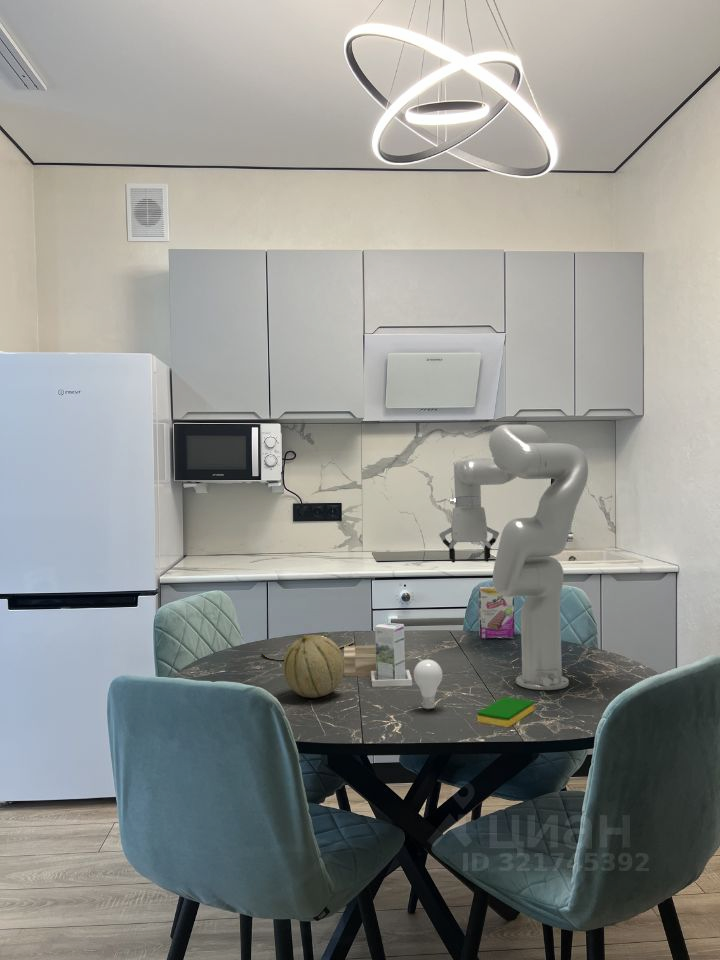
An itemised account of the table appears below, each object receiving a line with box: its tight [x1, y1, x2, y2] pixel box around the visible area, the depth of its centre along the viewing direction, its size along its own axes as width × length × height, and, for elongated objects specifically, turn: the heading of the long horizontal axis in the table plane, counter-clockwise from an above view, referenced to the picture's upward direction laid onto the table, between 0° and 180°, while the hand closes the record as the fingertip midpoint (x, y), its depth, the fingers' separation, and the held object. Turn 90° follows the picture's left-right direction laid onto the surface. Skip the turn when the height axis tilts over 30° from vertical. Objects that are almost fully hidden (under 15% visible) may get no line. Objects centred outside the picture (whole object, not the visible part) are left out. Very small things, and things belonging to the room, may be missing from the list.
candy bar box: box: [478, 586, 515, 639], centre depth 239 cm, size 11×5×16 cm, turn 84°
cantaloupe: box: [282, 634, 345, 699], centre depth 177 cm, size 15×15×15 cm
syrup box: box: [374, 622, 407, 680], centre depth 190 cm, size 6×6×14 cm
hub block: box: [343, 644, 376, 677], centre depth 203 cm, size 14×14×5 cm
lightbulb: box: [413, 659, 443, 711], centre depth 165 cm, size 6×6×11 cm
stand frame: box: [370, 669, 413, 688], centre depth 190 cm, size 10×10×2 cm
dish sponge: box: [476, 696, 535, 728], centre depth 159 cm, size 7×14×2 cm, turn 145°
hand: (469, 561), depth 216 cm, fingers open, 9 cm apart
